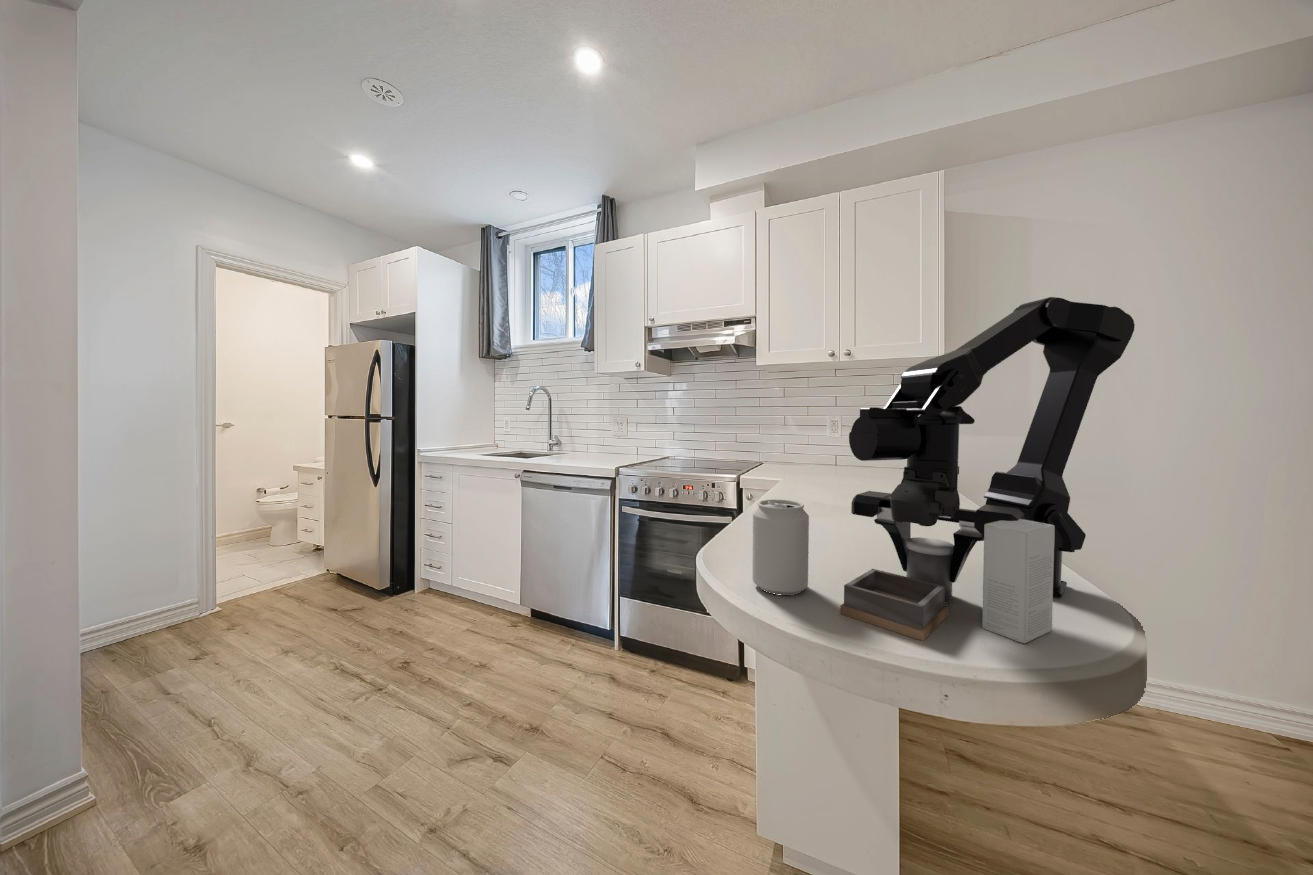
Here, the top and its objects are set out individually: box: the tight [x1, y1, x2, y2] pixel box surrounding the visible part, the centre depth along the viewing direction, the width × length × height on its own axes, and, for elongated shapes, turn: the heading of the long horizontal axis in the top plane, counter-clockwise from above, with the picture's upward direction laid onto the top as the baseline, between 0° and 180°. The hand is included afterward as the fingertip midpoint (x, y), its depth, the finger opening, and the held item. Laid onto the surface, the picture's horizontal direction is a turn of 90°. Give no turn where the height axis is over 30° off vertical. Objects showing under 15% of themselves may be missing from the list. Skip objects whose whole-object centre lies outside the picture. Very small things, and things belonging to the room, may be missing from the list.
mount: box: [839, 568, 949, 642], centre depth 54 cm, size 9×9×4 cm
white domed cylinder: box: [905, 537, 954, 604], centre depth 59 cm, size 5×5×7 cm
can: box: [751, 498, 810, 596], centre depth 62 cm, size 8×8×12 cm
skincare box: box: [981, 519, 1055, 644], centre depth 49 cm, size 6×4×12 cm
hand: (928, 576), depth 59 cm, fingers closed on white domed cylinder, 5 cm apart
